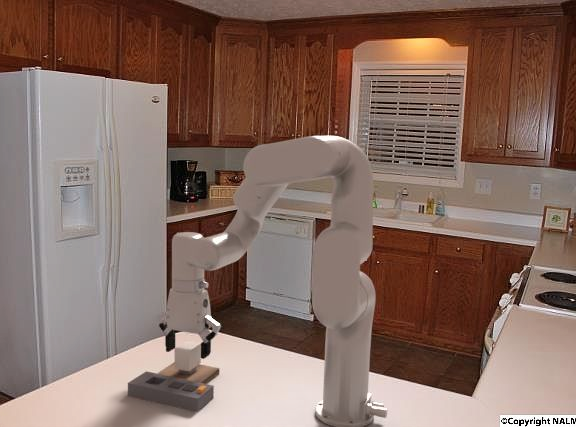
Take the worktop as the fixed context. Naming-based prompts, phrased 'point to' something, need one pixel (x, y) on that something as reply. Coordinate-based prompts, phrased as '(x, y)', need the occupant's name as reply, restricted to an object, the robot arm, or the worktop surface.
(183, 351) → the block
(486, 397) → the worktop surface
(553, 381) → the worktop surface
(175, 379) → the power strip
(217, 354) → the worktop surface
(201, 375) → the pad
